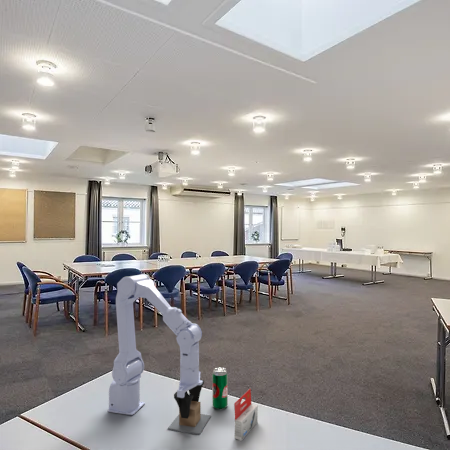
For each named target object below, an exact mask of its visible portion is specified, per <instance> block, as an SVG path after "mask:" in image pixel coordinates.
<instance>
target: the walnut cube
mask: <svg viewBox="0 0 450 450" xmlns="http://www.w3.org/2000/svg"><path fill="white" fill-rule="evenodd" d="M201 409H202V407H201V401H198V402H197V401H191V405H190V413H189V418H188V419H186V418H181V414H180V410H179V409H178V415H179V425H184V426H190V427H195V426H196V425H197V423H198V422H199V420H200V418H201V414H202V413H201V411H202V410H201Z"/></svg>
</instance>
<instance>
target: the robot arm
mask: <svg viewBox="0 0 450 450" xmlns="http://www.w3.org/2000/svg"><path fill="white" fill-rule="evenodd" d="M116 288H117V289H116V290H117V293H116V296H115V310H116V323H117V325H116V326H117V341H118V354H117V355H116V357H115V358H114V359H113V367H112V372H111V375H112V379H113V380H112V381H111V383H110V385H109V389H108V409H107V412H109V413H116V414H121V415H127V416H134V415H135V414H136V413H137V412H138V411H139V410H140V409H141V408H142V407H143V406H144V405H145V403H146V402H145V401H140V399H141V397H140V395H141V394H140V392H141V391H140V390H141V389H140V388H141V387H140V384H141V383H140V381H141V377H142V373H144V370H145V362H144V360H143V357H142V352H141V351H139V350H138V349H137V343H136V342H137V341H136V328H135V327H136V326H135V313H134V312H135V311H134V302H135V301H136V300H137V299H138V298H142V299H146V300H147V301H148V302H149V303H150V304H152V306H153V307H155V308H156V309H157V311H158V312H160V313H161V314H162V321H163V322H164V324H166V326H167V327H168V328H169V329H170V330H171V331H172V332H173V334H174V335H175V336H176V337H175V339H176V343H177V345H178V346H179V352H180V355H179V356H180V357H179V358H180V359H179V363H180V365H179V371H180V372H179V373H180V374H179V375H180V376H179V377H180V378H179V379H180V380H179V383H178V389H177V390H176V391H175V392H174V393H173V398H174V400H175V402H176V403H177V407H178V411H179V410H180V414H181V418H186V419H188V418H189V413H190V405H191V401H197V402H200V401H199V400H200V396H201V391H202V388H203V386H204V384H205V380H204V379H201V377H202V374H201V373H202V372H201V371H200V342H199V341H201V339H202V337H203V332H202V329H201V327H200V326H199V324H198V323H192V321H191V320H189V319H188V318H187V317H186V316H185V315H184V314H183V313H182V312H183V311H182V309H181V308H178V307H175V306H171V305H170V304H169V302H168V301H167V300H166V299H165V297H164V296H163V294H162V293H161V292H160V291H159V290H158V289H157V287H156V286H155V282H154V280H152V279H151V277H150V276H149V275H148V274H145V273H140V274H137V275H130V276H124V277H122V278H121V279H120V280H119V281H118V282H117V283H116Z"/></svg>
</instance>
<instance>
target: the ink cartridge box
mask: <svg viewBox="0 0 450 450" xmlns="http://www.w3.org/2000/svg"><path fill="white" fill-rule="evenodd" d="M243 399H244V400H243ZM233 405H234V406H233V407H234V410H233V411H234V439H235V440H238V441H241V442H242V441H243V440H244V439H245V438H246V436H247V435H248V434H249V433H250V431H251V430H252V429H253V428H254V427H255V426H256V425H257V423H258V413H259V412H258V411H259V410H258V407H259V406H258V405H257V404H254V403H253V404H252V391H251V388H249V389H247V390H246V392H245V393H244V394H242V395H241V396H240V397H239V399H237V400H235V402H234V404H233Z"/></svg>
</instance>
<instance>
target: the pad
mask: <svg viewBox="0 0 450 450" xmlns="http://www.w3.org/2000/svg"><path fill="white" fill-rule="evenodd" d="M211 417H212V415H210V414H203V413H201V418H200V420H199V422H198V423H197V425H196V426H195V427H190V426H184V425H179V414H177V416H176V417H175V418H174V420H173V421H172V422H171V423H170V425H169V426H168V427H167V430H168V431H174V432H182V433H186V434H187V433H188V434H194V435H201V433H202V432H203V430H204V429H205V427H206V426H207V423H208V422H209V420H210V419H211Z"/></svg>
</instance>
